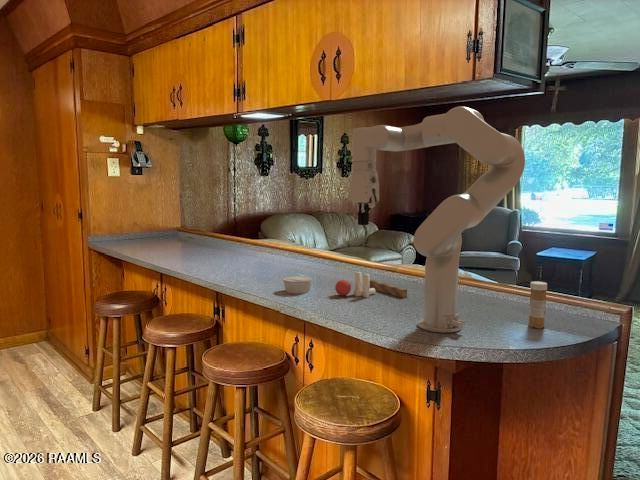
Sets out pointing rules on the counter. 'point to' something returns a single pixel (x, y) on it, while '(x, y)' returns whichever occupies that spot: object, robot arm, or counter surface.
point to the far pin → (358, 280)
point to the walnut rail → (388, 288)
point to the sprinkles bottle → (537, 304)
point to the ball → (343, 287)
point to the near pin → (366, 285)
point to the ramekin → (297, 284)
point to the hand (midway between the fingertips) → (363, 224)
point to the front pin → (360, 292)
